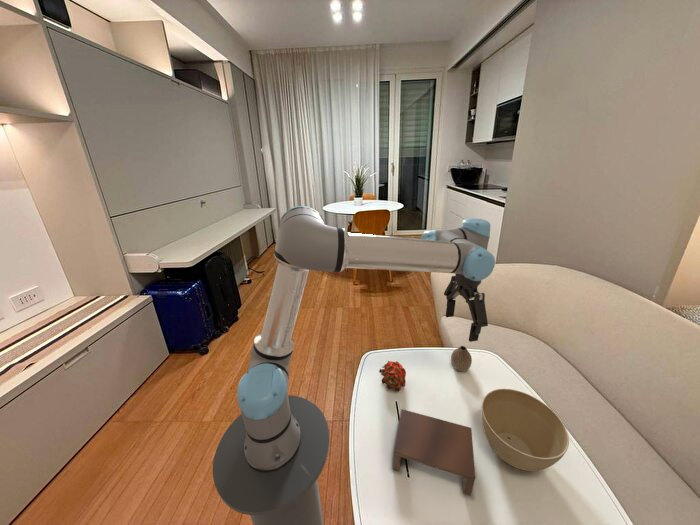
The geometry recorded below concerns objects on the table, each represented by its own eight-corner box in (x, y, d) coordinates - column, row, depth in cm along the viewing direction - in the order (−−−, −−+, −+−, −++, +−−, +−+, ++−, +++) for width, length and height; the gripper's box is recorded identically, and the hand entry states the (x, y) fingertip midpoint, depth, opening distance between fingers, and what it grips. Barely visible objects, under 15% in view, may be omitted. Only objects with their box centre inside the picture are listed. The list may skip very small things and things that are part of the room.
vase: (446, 367, 97) (449, 347, 94) (455, 357, 101) (458, 339, 98) (464, 377, 92) (468, 357, 89) (473, 367, 96) (477, 348, 93)
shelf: (392, 469, 66) (393, 451, 64) (400, 425, 77) (401, 408, 74) (470, 496, 61) (475, 477, 58) (467, 445, 71) (471, 427, 68)
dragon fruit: (394, 402, 86) (388, 378, 97) (416, 388, 85) (407, 365, 96) (378, 385, 84) (374, 362, 96) (400, 370, 83) (393, 349, 94)
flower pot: (460, 432, 74) (466, 401, 70) (508, 410, 80) (516, 380, 75) (518, 506, 59) (531, 472, 54) (572, 472, 65) (588, 439, 60)
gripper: (510, 287, 70) (496, 350, 78) (457, 254, 93) (450, 306, 101) (485, 290, 69) (473, 354, 77) (437, 256, 92) (432, 309, 100)
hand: (460, 327), depth 89 cm, fingers open, 13 cm apart
